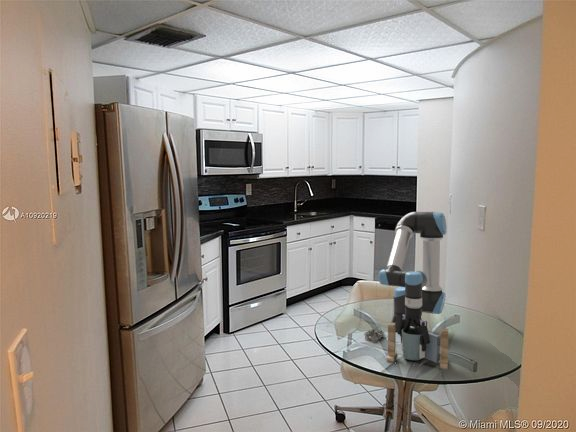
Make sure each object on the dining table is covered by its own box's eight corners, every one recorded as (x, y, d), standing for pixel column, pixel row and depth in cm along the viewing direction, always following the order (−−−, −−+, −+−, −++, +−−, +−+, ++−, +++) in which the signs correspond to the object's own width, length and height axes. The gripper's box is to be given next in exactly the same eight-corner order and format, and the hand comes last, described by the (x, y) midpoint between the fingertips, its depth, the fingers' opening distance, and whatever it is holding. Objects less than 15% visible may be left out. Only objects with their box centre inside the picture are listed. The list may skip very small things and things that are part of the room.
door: (409, 348, 213) (409, 324, 212) (442, 361, 197) (442, 335, 196) (405, 349, 211) (405, 325, 210) (438, 363, 195) (438, 337, 194)
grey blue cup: (397, 354, 204) (397, 329, 203) (414, 350, 208) (414, 325, 207) (411, 362, 194) (412, 336, 193) (429, 358, 199) (429, 332, 198)
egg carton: (374, 343, 223) (374, 335, 222) (362, 339, 228) (362, 331, 227) (386, 337, 230) (386, 329, 230) (373, 333, 236) (373, 326, 235)
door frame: (390, 352, 209) (390, 320, 208) (448, 360, 199) (448, 326, 198) (386, 360, 200) (386, 326, 198) (447, 369, 190) (447, 333, 189)
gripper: (389, 302, 206) (389, 348, 208) (428, 313, 188) (427, 364, 190) (400, 299, 210) (400, 344, 212) (439, 310, 192) (438, 360, 194)
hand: (413, 353), depth 201 cm, fingers closed on grey blue cup, 9 cm apart
